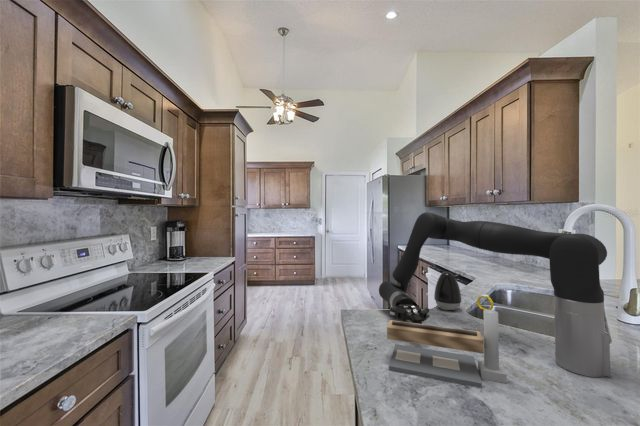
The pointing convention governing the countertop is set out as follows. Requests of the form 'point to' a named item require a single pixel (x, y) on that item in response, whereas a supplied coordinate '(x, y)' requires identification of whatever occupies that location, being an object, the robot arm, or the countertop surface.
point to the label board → (454, 360)
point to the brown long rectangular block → (436, 336)
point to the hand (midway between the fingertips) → (418, 322)
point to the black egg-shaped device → (447, 291)
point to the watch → (487, 298)
